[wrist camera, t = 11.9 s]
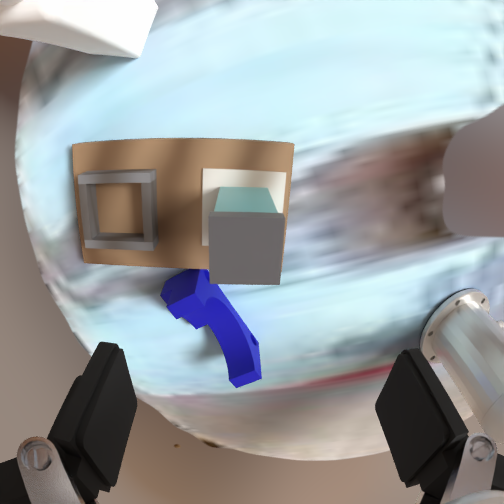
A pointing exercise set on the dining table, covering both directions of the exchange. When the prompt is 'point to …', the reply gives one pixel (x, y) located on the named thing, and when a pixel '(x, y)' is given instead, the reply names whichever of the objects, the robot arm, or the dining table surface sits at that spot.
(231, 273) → the plug
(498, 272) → the dining table surface
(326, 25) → the dining table surface
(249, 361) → the cable clip
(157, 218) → the board
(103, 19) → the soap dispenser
